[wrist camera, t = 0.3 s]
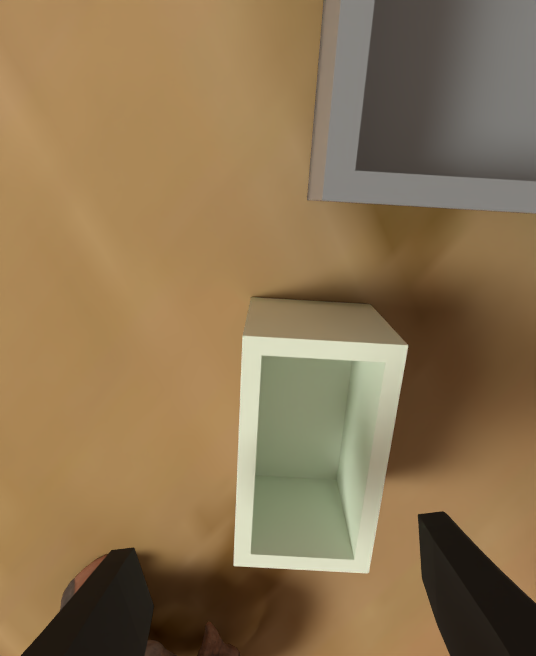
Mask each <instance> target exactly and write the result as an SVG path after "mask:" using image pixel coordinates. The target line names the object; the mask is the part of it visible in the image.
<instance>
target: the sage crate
mask: <svg viewBox="0 0 536 656" xmlns="http://www.w3.org/2000/svg"><path fill="white" fill-rule="evenodd" d="M407 350H408V344H407V343H406V342H405V341H404V340H403V339H402V338H401V337H400V336H399V335H398V334H397V333H396V331H395V330H394V329H393V328H392V327H391V326H390V325H389V324H388V323H387V322H386V321H385V320H384V318H383V317H382V316H381V315H380V314H379V313H378V312H377V311H376V310H375V309H374V308H373V307H372V305H371V304H360V303H343V302H326V301H309V300H292V299H275V298H258V297H251V301H250V305H249V310H248V314H247V319H246V323H245V328H244V332H243V341H242V366H241V391H240V416H239V441H238V467H237V492H236V517H235V542H234V566H242V567H261V568H279V569H297V570H316V571H334V572H352V573H369V568H370V562H371V557H372V551H373V545H374V539H375V534H376V528H377V522H378V516H379V511H380V505H381V499H382V493H383V488H384V482H385V476H386V471H387V465H388V459H389V453H390V448H391V442H392V436H393V430H394V425H395V419H396V413H397V407H398V402H399V396H400V390H401V384H402V379H403V373H404V367H405V362H406V356H407Z"/></svg>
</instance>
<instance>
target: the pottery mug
mask: <svg viewBox="0 0 536 656" xmlns="http://www.w3.org/2000/svg"><path fill="white" fill-rule="evenodd" d="M107 555H108V554H106V555H104V556H102V557H101V558H98V559H96V560H95V561H93V562H92V563H91V564H90V565H88V566H86V567H85V568H84V569H83V570H82V571H81V572H80V573H79V574H78V575H77V576H76V577H75V578H74V579H73V580H72V581H71V582H70V583H69V585H68V586H67V588H66V589H65V591H64V593H63V596H62V600H61V609H62V608H63V607H64V606H65V605H66V603H67V602H68V601H69V600H70V599H71V598H72V596H73V595H74V594H75V593H76V592H77V590H78V589H79V588H80V587H81V586H82V584H83V583H84V582H85V581H86V580H87V578H88V577H89V576H90V575H91V574H92V572H93V571H94V570H95V569H96V568H97V566H98V565H99V564H100V563H101V562H102V561H103V559H104V558H105V557H106V556H107ZM61 609H60V610H61ZM145 656H177V655H176V654H174V653H172V652H170V651H168V650H167V649H165V648H164V646H163V645H162V644H161V643H160V642H158V641H155V640H148V641H147V646H146V651H145ZM197 656H240V653H239V651H238V649H237V648H235V647H234V646H233V645H231V644H226V643H224V642H223V640H222V639H221V638H220V635H219V633H218V631H217V630H216V628H215V627H214V626H213V624H212V623H211V622H207V623H206V626H205V634H204V638H203V642H202V645H201V648H200V650H199V653H198V655H197Z"/></svg>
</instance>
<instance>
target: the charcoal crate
mask: <svg viewBox="0 0 536 656" xmlns="http://www.w3.org/2000/svg"><path fill="white" fill-rule="evenodd" d="M307 200H316V201H333V202H349V203H366V204H383V205H400V206H416V207H433V208H450V209H467V210H483V211H500V212H517V213H534V214H536V0H324V2H323V15H322V27H321V39H320V51H319V63H318V75H317V87H316V99H315V111H314V124H313V136H312V148H311V160H310V172H309V184H308V196H307Z"/></svg>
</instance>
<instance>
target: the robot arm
mask: <svg viewBox="0 0 536 656" xmlns="http://www.w3.org/2000/svg"><path fill="white" fill-rule="evenodd" d="M418 524H419V540H420V556H421V572H422V580H423V583H424V586H425V589H426V592H427V595H428V598H429V602H430V605H431V608H432V611H433V614H434V617H435V620H436V623H437V626H438V628H439V630H440V633H441V635H442V637H443V640H444V642H445V644H446V647H447V649H448V651H449V654H450V656H536V603H535V602H534V601H533V600H532V599H531V598H529V597H528V596H527V595H526V594H525V593H524V592H523V591H522V590H521V589H520V588H519V587H518V586H517V585H516V584H515V583H514V582H513V581H512V580H511V579H509V578H508V577H507V576H506V575H505V574H504V573H503V572H502V571H501V570H500V569H499V568H498V567H497V566H496V565H495V564H494V563H493V562H492V561H491V560H490V559H489V558H488V557H487V556H486V555H485V554H484V553H483V552H482V551H481V550H480V549H479V548H478V547H477V546H476V545H475V544H474V543H473V541H472V540H471V539H470V538H469V537H468V536H467V535H466V534H465V533H464V532H463V531H462V530H461V529H460V528H459V527H458V525H457V524H456V523H455V522H454V521H453V520H452V519H451V518H450V517H449V516H448V515H447V514H446V513H445V512H434V513H425V514H418ZM153 609H154V605H153V602H152V599H151V596H150V593H149V590H148V587H147V584H146V581H145V578H144V575H143V572H142V569H141V566H140V563H139V560H138V557H137V554H136V551H135V548H126V549H117V550H111V551H110V553H109V554H108V555H107V556H106V557H105V558H104V559H103V561H102V562H101V563H100V564H99V565H98V566H97V568H96V569H95V570H94V571H93V572H92V574H91V575H90V576H89V577H88V578H87V580H86V581H85V582H84V583H83V584H82V586H81V587H80V588H79V589H78V590H77V592H76V593H75V594H74V595H73V596H72V598H71V599H70V600H69V601H68V602H67V603H66V605H65V606H64V607H63V608H62V609H61V610H60V612H59V613H58V614H57V615H56V616H55V618H54V619H53V620H52V621H51V622H50V623H49V625H48V626H47V627H46V628H45V629H44V630H43V632H42V633H41V634H40V635H39V636H38V637H37V638H36V639H35V640H34V642H33V643H32V644H31V645H30V646H29V647H28V648H27V649H26V650H25V651H24V653H23V654H22V655H21V656H145V651H146V646H147V641H148V636H149V631H150V626H151V620H152V615H153Z"/></svg>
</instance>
